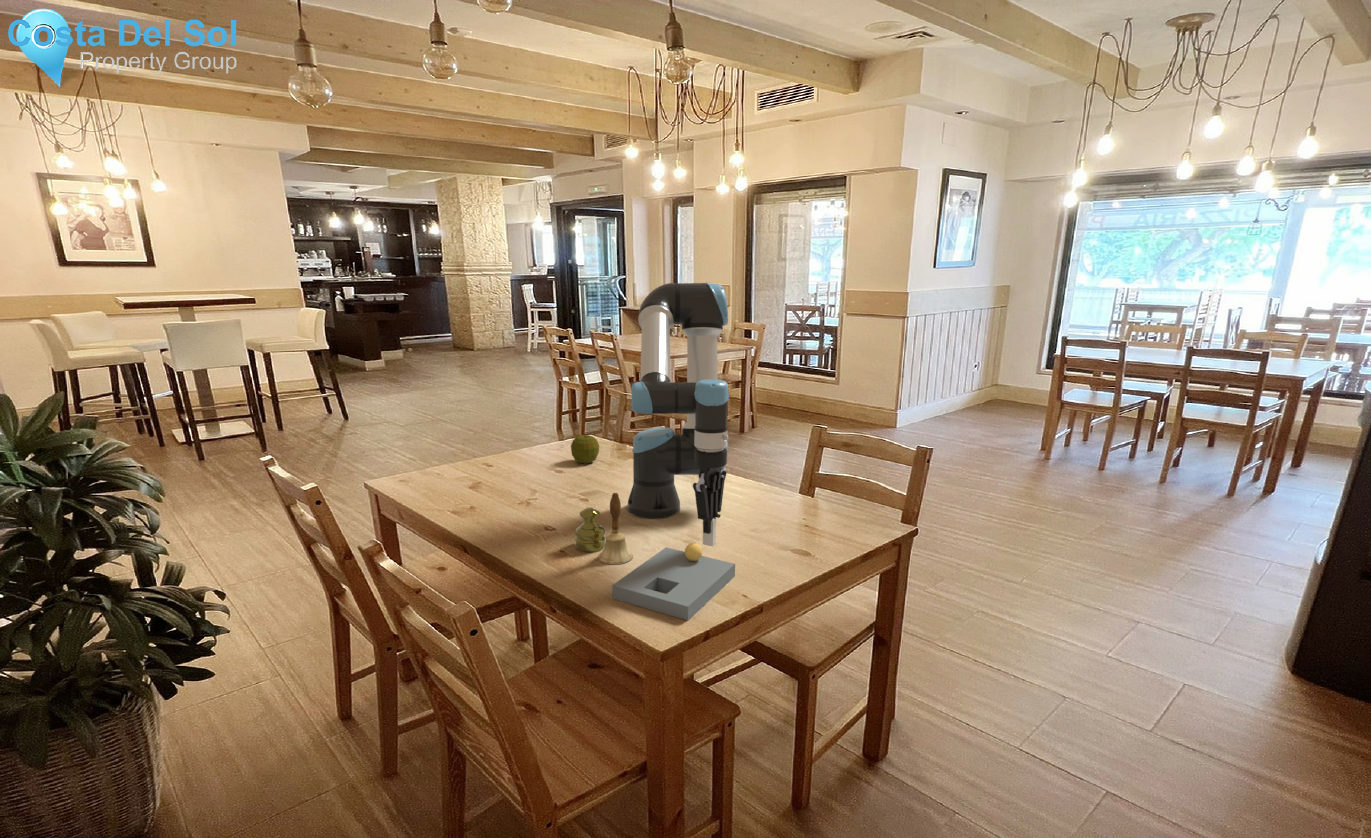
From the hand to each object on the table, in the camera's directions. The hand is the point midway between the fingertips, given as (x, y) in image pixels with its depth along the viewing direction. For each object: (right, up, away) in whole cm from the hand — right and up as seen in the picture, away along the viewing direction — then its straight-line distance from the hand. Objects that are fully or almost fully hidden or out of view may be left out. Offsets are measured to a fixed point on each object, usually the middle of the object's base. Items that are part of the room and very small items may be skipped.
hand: (709, 544), depth 153 cm
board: (-8, -7, -13) cm, 16 cm away
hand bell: (-22, -4, +2) cm, 23 cm away
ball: (-4, -2, -6) cm, 8 cm away
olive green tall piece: (-29, -2, +8) cm, 30 cm away
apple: (-41, +14, +79) cm, 90 cm away
